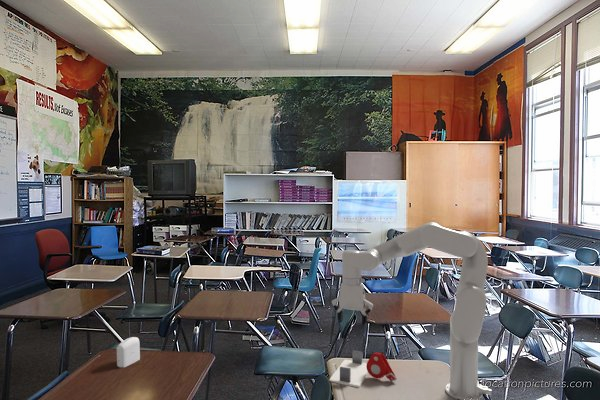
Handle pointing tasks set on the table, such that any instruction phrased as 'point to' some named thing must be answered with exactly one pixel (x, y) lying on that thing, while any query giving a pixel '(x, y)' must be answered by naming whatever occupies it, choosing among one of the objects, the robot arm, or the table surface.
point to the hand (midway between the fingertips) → (352, 323)
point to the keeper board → (351, 371)
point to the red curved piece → (380, 367)
